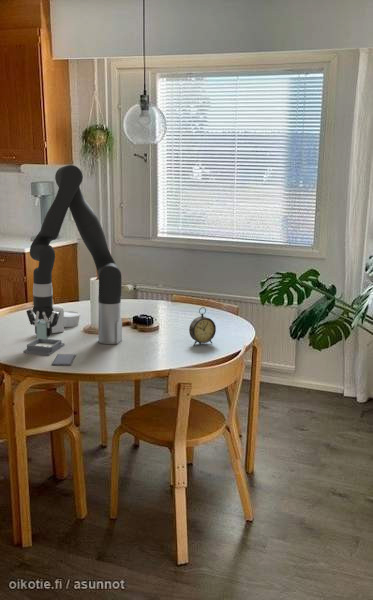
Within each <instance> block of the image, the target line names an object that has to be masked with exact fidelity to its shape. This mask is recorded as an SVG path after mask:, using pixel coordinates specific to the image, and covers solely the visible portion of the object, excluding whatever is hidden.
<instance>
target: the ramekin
mask: <svg viewBox="0 0 373 600" xmlns="http://www.w3.org/2000/svg"><path fill="white" fill-rule="evenodd" d="M80 317H81V313H80V312H77V311H75V310H74V311H73V310H64V328H72V327H76V325H77V326H78V325H79V323H80Z"/></svg>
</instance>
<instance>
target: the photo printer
mask: <svg viewBox="0 0 373 600" xmlns="http://www.w3.org/2000/svg"><path fill="white" fill-rule="evenodd" d="M52 307H53V310H54V311H55V312H60V315H59V318H58V321H57V325H55V326H54V327H52V334H55V333H56V334H57V333H64V331H65V327H64V311H65V310H64V309H65V308H64V307H63V306H62V305H58V304H53V306H52ZM53 318H54V317H53V314H52V315H51V319H52V321H53ZM41 321H44V322H45V320H44V319H41Z"/></svg>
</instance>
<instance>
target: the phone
mask: <svg viewBox="0 0 373 600" xmlns="http://www.w3.org/2000/svg"><path fill="white" fill-rule="evenodd" d="M76 355H77V354H76V353H74V354H73V353H72V354H71V353H57V354H56V355H55V358H54V359H53V361H52V363H51V366H55V367H56V366H58V367H59V366H62V367H63V366H64V367H65V366H66V367H71V366H72V364H73V362H74V360H75V358H76Z"/></svg>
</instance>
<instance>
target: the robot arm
mask: <svg viewBox="0 0 373 600" xmlns="http://www.w3.org/2000/svg"><path fill="white" fill-rule="evenodd" d="M54 176H55V177H54V179H55V183H56V185H57V187H58V189H57V193H56V195H55V198H54V199H53V201H52V204H51V206H50V207H49V209H48V211H47V212H46V214H45V217H44V218H43V222H42V224H41V225H42V226H41V227H40V231H39V232H38V233H37V235H36V236H35V238H34V240H32V242H31V245H30V247H29V256H30V258H31V259H32V260H34V261H36V262H37V261H38V267H36V268H34V269H33V273H32V274H33V279H32V280H33V287H32V300H33V301H32V303H33V304H32V305H33V308H29V309H28V310H26V314H27V318H28V321H29V325H31V326H32V325H33V326H34V333H35V335H36V336H37V327H36V324H37V323H39V322H41V319H44V320H45V323H46V324H47V337H49V336H50V337H52V335H53V333H52V327H54V326H55V325H57V321H58V318H59V315H60V312H55V311H54V310H53V307H52V306H53V305H54V304H53V299H54V298H53V296H54V295H53V292H54V291H53V290H54V289H53V279H52V277H53V269H54V265H55V260H56V252H55V249H54V247H53V246H52V245H50V243H51V242H52V241H54V240H55V241H56V240H57V239H58V237H59V234H60V232H61V229H62V225H63V223H64V220H65V217H66V216H67V212H68V211H70V214H71V216H72V219H73V221H74V223H75V226H76V228H77V231H78V233H79V235H80V236H79V237H80V238H81V240H82V242H83V244H84V245H85V247H86V249H87V250H88V251H89V253H90V255H91V257H92V260H93V262H94V265H95V269H96V271H97V276H98V277H97V278H98V302H97V303H98V308H97V309H98V310H97V311H98V313H97V314H98V316H97V317H98V318H97V319H98V320H97V324H98V330H97V331H98V332H97V333H98V335H97V336H98V343H100V344H103V345H117V344H119V343H120V342H121V341H123V319H122V317H121V316H122V315H121V312H122V311H121V310H122V309H121V299H122V272H121V270H120V268H119V266H118V265H117V264H116V261H115V260H114V258H113V256H112V254H111V252H110V249H109V246H108V243H107V240H106V239H107V238H106V235H105V232H104V230H103V227H102V224H101V223H100V222H101V221H100V219H99V218H98V216H97V214H96V212H95V211H94V210H93V208H92V206H90V204H89V203H88V202H87V200H86V198H85V197H84V195H83V192H82V189H81V187H80V186H81V184H82V182H83V179H84V177H83V176H84V175H83V171H82V170H81V168H80V167H78V165H74V164H68V165H67V164H66V165H64V166H61V167H59V168H58V169H57V171H56V172H55V174H54ZM52 314H53V317H54V318H53V321H52V319H51V315H52ZM50 337H49V338H50Z"/></svg>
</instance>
